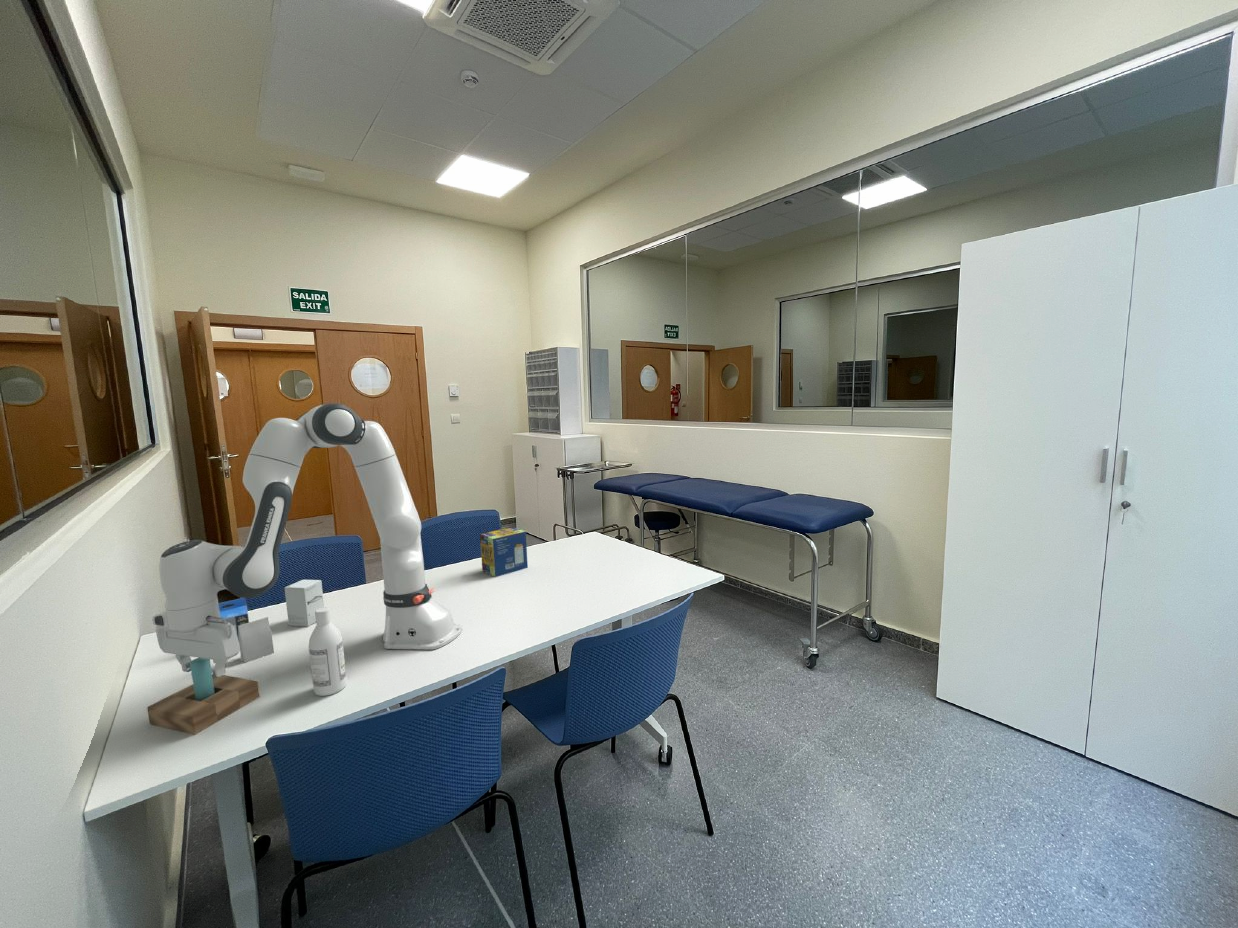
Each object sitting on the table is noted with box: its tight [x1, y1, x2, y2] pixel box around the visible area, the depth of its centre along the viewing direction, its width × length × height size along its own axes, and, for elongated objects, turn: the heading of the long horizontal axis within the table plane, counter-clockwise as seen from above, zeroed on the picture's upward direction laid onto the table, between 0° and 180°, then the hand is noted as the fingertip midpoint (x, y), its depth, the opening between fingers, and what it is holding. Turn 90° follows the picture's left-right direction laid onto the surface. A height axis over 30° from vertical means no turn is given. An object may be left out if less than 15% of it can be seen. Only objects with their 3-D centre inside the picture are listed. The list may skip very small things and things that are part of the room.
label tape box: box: [218, 597, 250, 641], centre depth 147 cm, size 9×4×12 cm, turn 128°
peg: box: [190, 657, 215, 701], centre depth 114 cm, size 3×3×12 cm
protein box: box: [479, 526, 528, 578], centre depth 204 cm, size 10×15×16 cm
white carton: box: [238, 616, 275, 664], centre depth 139 cm, size 4×7×10 cm, turn 139°
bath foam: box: [308, 606, 348, 697], centre depth 121 cm, size 7×7×20 cm
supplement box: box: [284, 579, 325, 628], centre depth 161 cm, size 7×7×13 cm
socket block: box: [146, 673, 260, 735], centre depth 115 cm, size 14×14×4 cm
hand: (204, 672), depth 114 cm, fingers open, 8 cm apart
